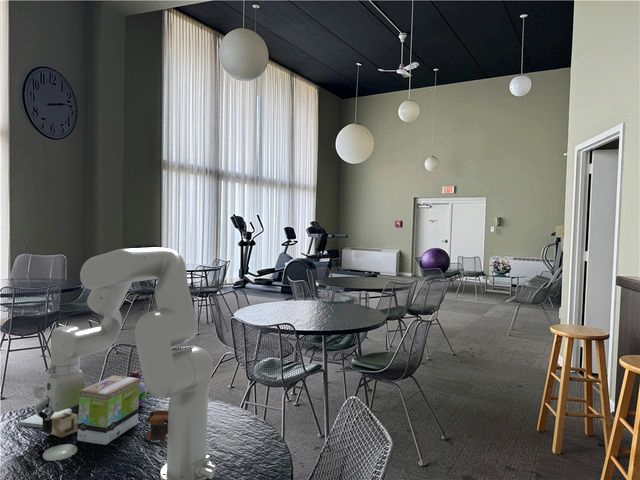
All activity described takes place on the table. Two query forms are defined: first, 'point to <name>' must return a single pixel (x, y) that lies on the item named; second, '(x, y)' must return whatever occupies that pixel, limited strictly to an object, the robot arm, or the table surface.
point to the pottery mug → (157, 425)
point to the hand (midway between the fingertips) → (63, 425)
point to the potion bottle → (142, 386)
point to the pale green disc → (60, 452)
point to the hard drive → (38, 419)
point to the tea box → (108, 409)
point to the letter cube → (64, 424)
